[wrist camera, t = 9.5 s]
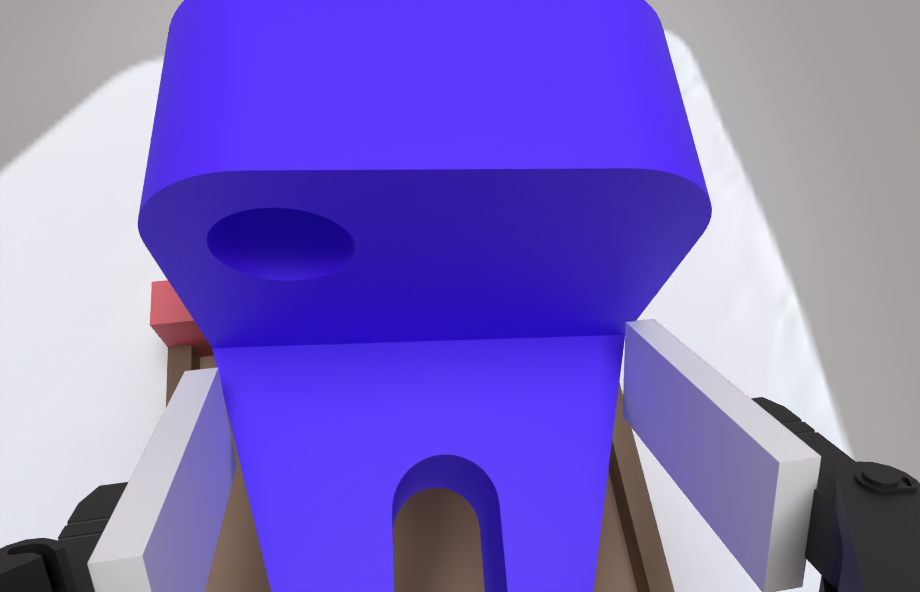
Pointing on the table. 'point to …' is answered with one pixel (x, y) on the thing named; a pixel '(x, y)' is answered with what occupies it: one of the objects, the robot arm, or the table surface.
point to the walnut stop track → (426, 505)
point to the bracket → (420, 260)
